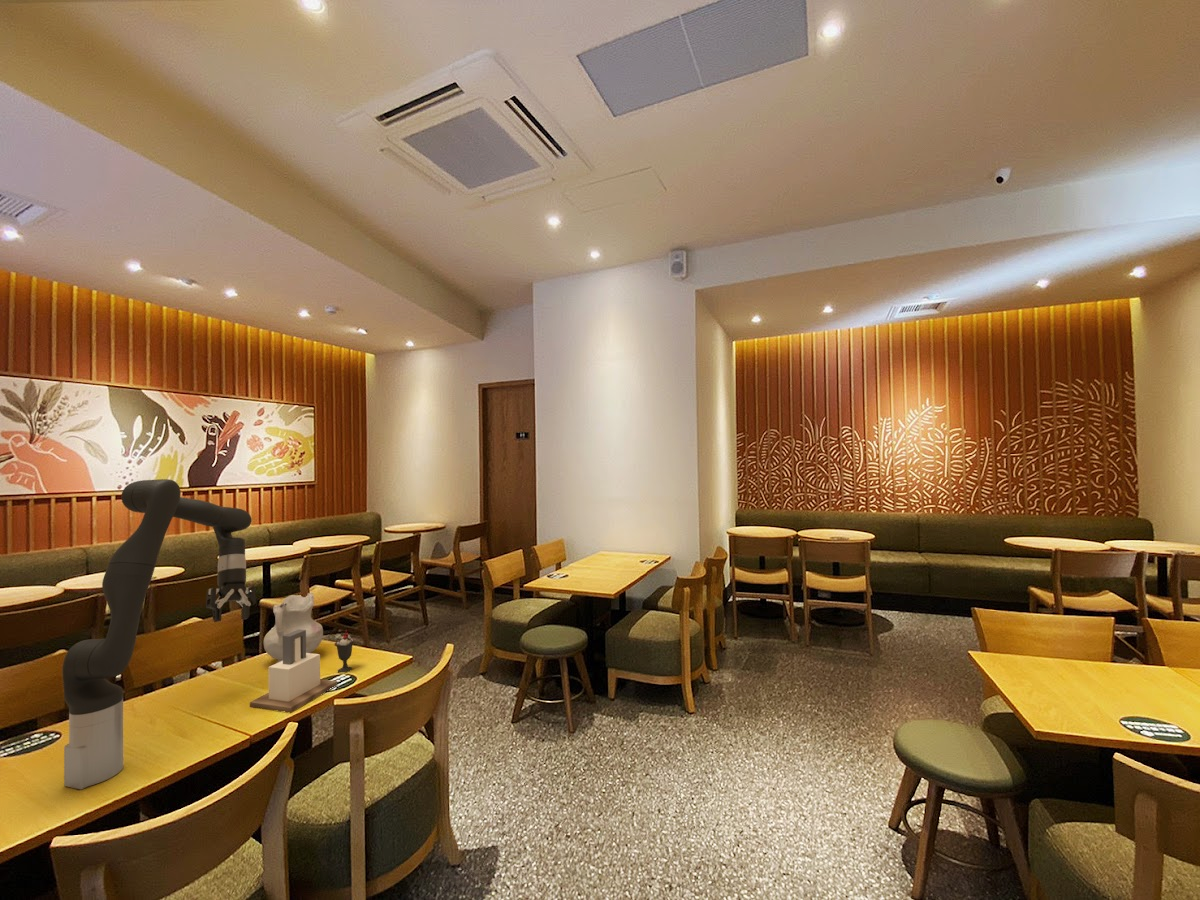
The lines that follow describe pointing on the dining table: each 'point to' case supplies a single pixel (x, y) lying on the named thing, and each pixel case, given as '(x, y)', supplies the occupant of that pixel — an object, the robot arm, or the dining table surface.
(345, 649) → the sundae
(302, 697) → the display base
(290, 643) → the gray u-shaped archway
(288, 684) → the white block with post
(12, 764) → the dining table surface
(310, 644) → the ceramic pitcher
